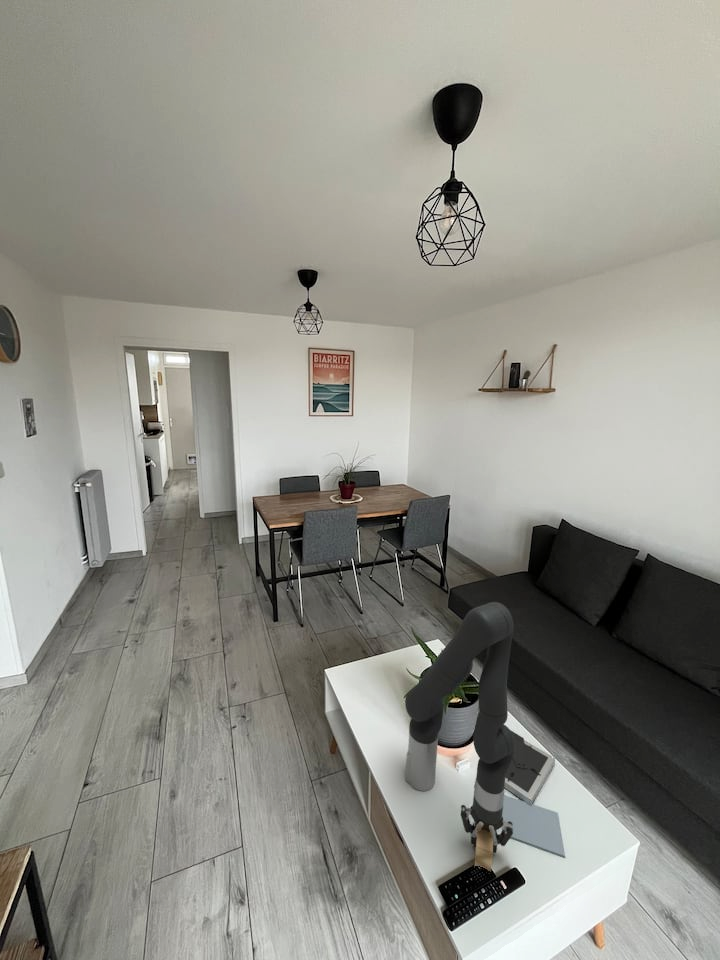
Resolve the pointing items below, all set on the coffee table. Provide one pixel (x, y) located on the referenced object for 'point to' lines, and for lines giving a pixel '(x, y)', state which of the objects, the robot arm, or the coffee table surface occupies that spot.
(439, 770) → the coffee table surface
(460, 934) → the coffee table surface
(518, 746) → the picture frame
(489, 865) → the oak card box
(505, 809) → the slate mat
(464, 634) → the robot arm
